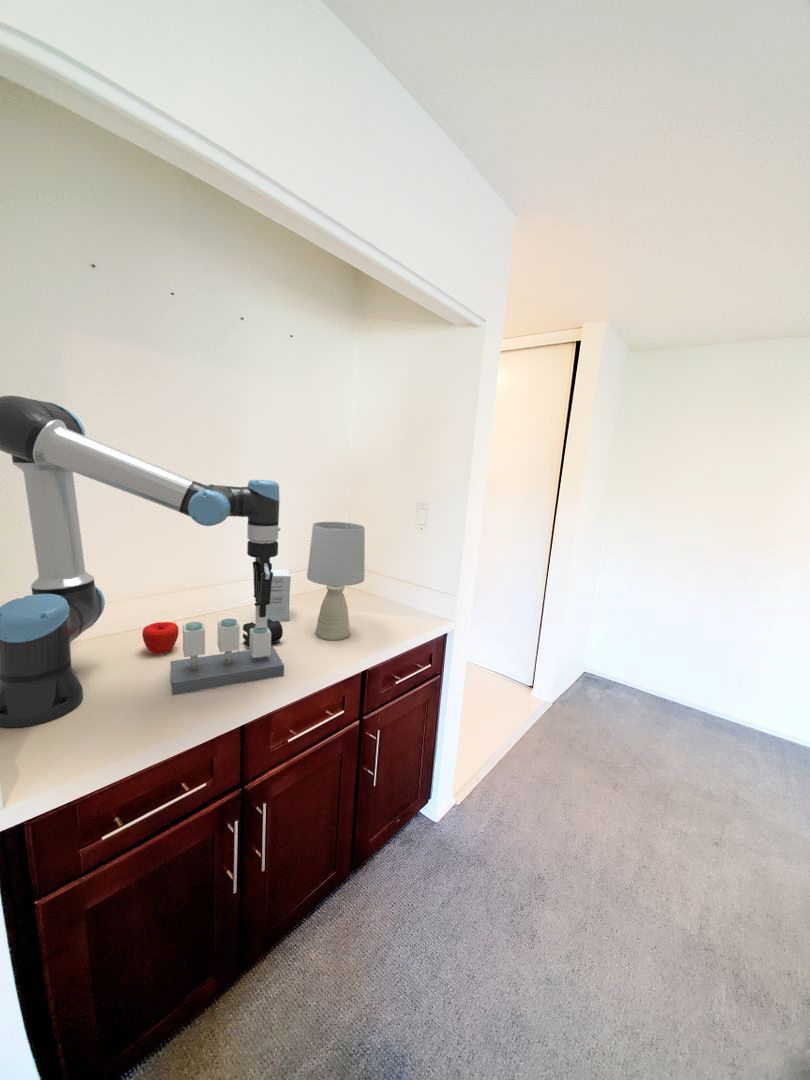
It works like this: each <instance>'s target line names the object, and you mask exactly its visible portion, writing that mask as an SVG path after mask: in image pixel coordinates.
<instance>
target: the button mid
mask: <svg viewBox="0 0 810 1080" xmlns="http://www.w3.org/2000/svg"><path fill="white" fill-rule="evenodd" d="M240 627H241V626H240V624H239V622H238V620H237V619H236V618H223V619H221V621H217V647H218V651H219V653H225V652H226V651H238V650H240V632H241V631H240Z"/></svg>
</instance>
